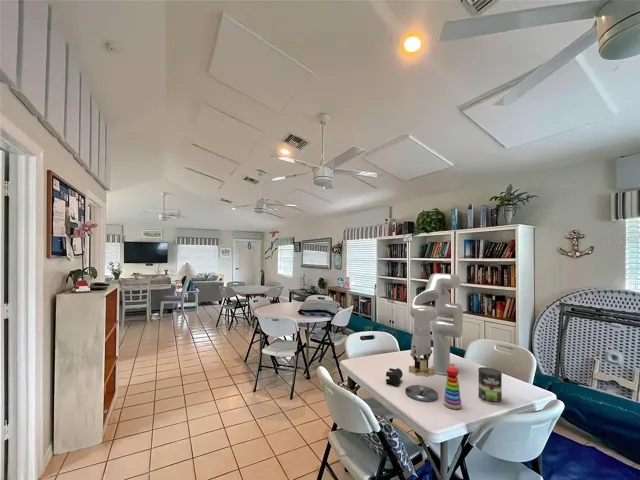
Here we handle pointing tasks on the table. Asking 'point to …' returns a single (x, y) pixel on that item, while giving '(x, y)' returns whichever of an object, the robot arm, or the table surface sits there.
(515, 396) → the table surface
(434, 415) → the table surface
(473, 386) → the table surface
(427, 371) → the tan faceted octagonal piece
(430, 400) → the plate
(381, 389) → the table surface
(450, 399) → the stacking toy
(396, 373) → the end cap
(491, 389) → the coffee can
